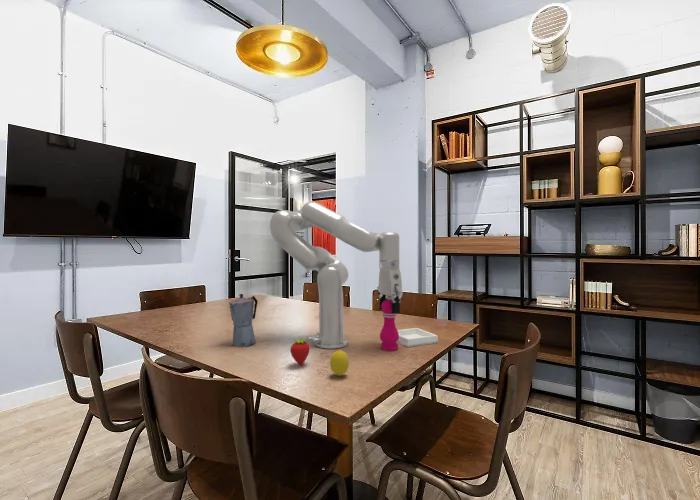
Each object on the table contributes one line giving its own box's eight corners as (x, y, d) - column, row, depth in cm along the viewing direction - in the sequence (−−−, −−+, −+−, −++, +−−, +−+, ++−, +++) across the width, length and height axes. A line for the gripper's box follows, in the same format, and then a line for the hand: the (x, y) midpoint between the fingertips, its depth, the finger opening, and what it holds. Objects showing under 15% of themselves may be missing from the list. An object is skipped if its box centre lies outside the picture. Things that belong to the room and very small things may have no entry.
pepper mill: (398, 351, 130) (398, 297, 130) (378, 350, 132) (378, 296, 131) (399, 346, 137) (399, 294, 137) (380, 345, 139) (380, 294, 138)
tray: (407, 347, 135) (407, 339, 135) (389, 338, 148) (389, 331, 148) (437, 342, 141) (437, 335, 141) (416, 334, 154) (417, 327, 154)
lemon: (330, 373, 109) (329, 347, 109) (348, 372, 109) (347, 346, 109) (330, 380, 103) (330, 352, 103) (349, 379, 104) (349, 352, 104)
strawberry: (286, 368, 113) (286, 337, 113) (297, 360, 120) (297, 331, 120) (303, 370, 111) (302, 338, 111) (313, 362, 118) (313, 333, 118)
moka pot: (220, 347, 136) (220, 295, 136) (246, 337, 150) (246, 290, 150) (241, 350, 132) (240, 296, 132) (265, 339, 147) (265, 291, 146)
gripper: (410, 266, 127) (410, 314, 128) (386, 263, 143) (386, 306, 144) (392, 266, 124) (392, 316, 125) (369, 264, 140) (369, 308, 140)
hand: (389, 311), depth 134 cm, fingers open, 8 cm apart
